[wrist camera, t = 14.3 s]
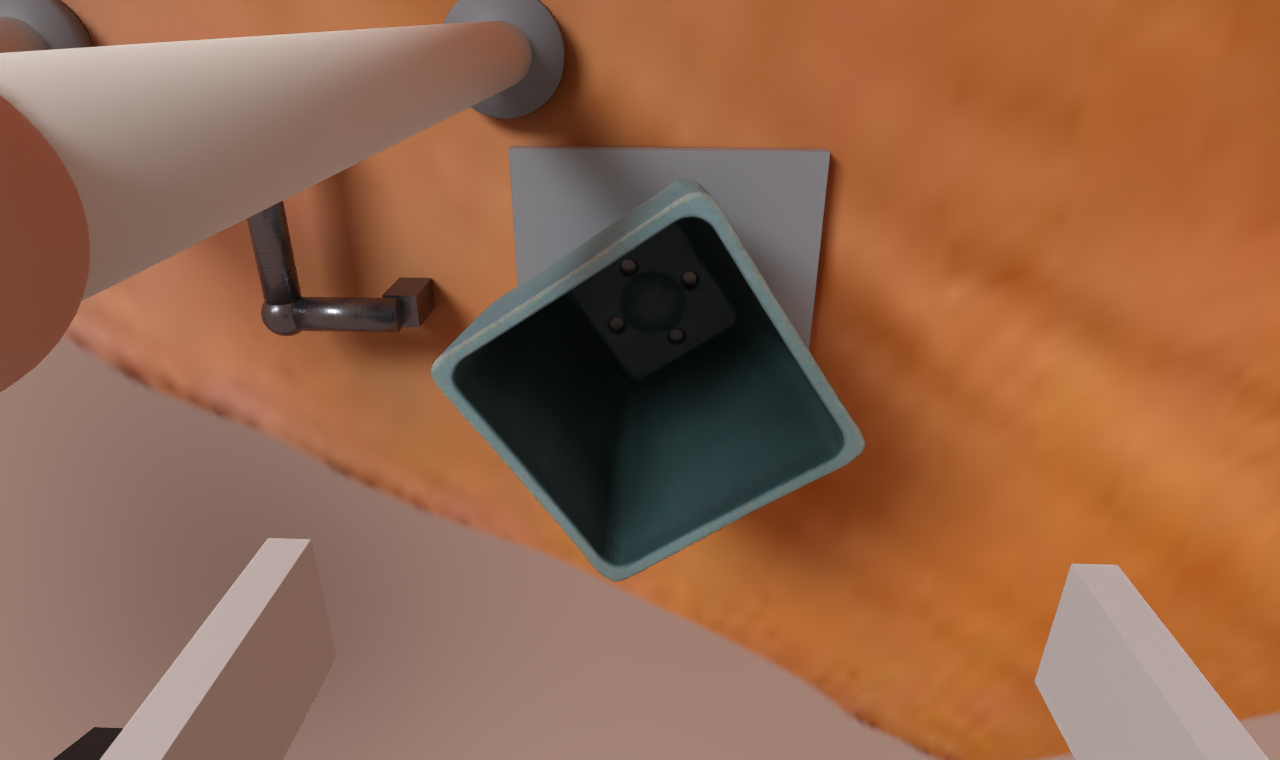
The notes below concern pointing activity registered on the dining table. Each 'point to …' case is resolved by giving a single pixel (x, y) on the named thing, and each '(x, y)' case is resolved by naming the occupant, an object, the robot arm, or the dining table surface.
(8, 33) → the post
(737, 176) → the tile
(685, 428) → the flower pot
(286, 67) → the post
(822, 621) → the dining table surface
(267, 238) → the bent rail
